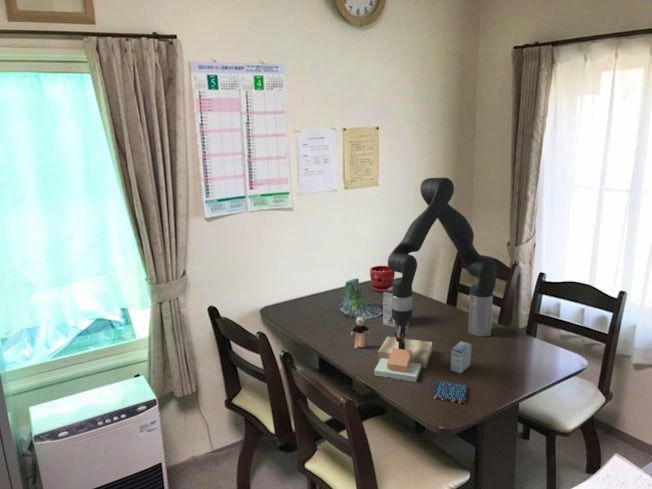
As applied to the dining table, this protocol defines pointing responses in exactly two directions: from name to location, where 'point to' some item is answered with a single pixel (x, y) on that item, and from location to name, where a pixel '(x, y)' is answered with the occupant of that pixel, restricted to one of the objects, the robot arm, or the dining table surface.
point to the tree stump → (358, 303)
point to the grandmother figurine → (360, 333)
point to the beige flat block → (418, 348)
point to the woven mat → (450, 392)
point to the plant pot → (381, 277)
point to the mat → (409, 375)
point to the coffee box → (388, 307)
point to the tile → (399, 360)
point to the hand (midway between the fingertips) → (401, 350)
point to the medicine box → (460, 357)
